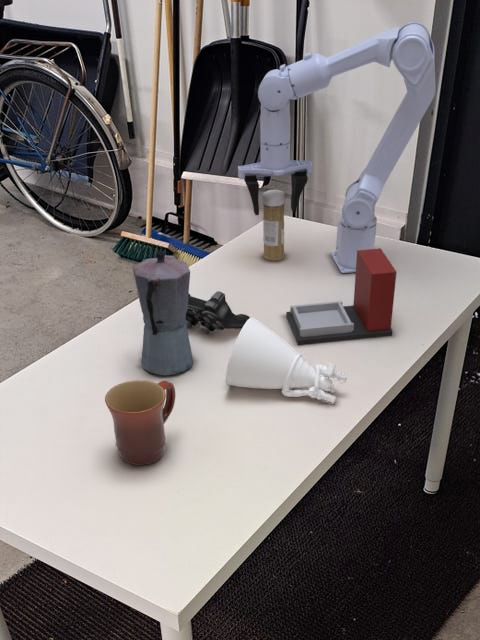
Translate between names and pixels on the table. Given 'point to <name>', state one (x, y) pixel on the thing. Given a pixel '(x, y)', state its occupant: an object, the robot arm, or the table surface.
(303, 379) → the rocket engine
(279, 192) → the sprinkles bottle
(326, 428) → the table surface
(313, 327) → the coffee maker
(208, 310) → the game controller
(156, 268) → the moka pot
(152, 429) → the mug
